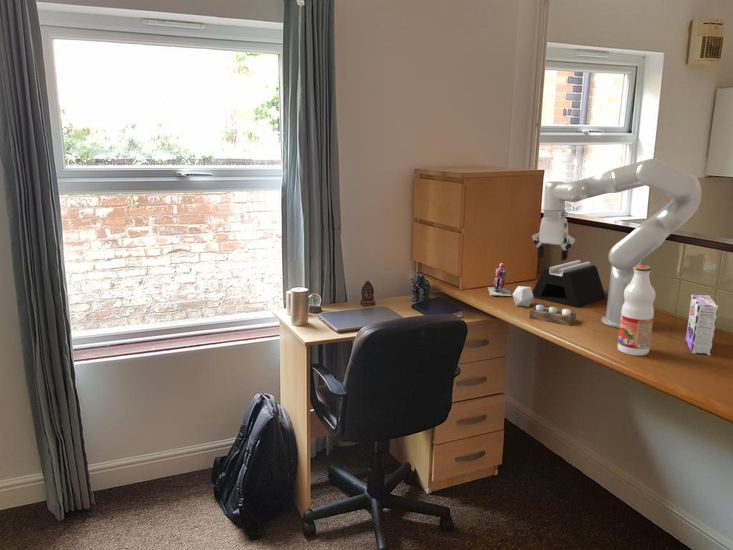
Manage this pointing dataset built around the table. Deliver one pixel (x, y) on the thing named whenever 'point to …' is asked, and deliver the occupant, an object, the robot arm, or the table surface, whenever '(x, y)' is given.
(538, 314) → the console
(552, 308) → the sage button
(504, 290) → the statue
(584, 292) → the device stand
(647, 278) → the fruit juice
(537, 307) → the slate blue button
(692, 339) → the candy box
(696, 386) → the table surface
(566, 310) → the cream button
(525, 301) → the die
